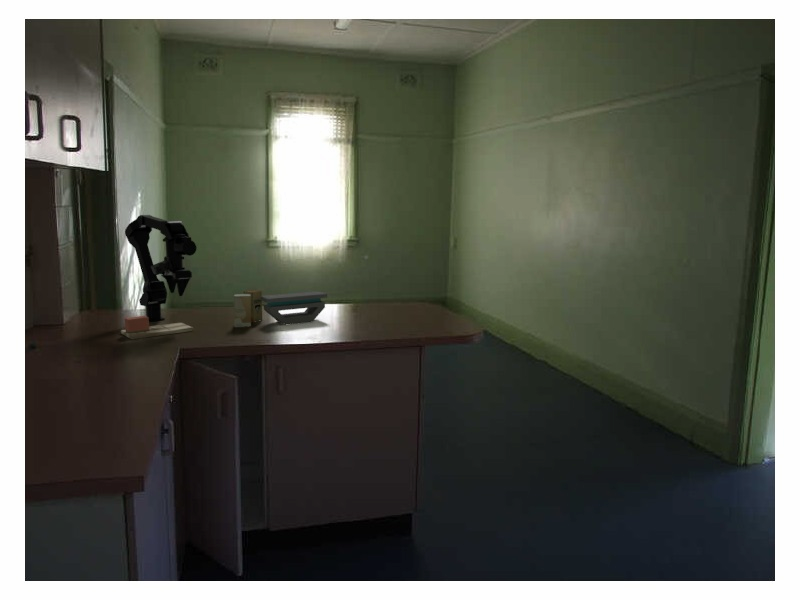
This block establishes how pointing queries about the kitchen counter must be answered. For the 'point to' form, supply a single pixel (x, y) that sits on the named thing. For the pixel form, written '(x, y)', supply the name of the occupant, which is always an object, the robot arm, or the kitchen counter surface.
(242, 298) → the skincare box
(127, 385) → the kitchen counter surface
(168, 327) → the cream flat rectangular board
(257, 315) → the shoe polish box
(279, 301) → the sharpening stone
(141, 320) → the block
